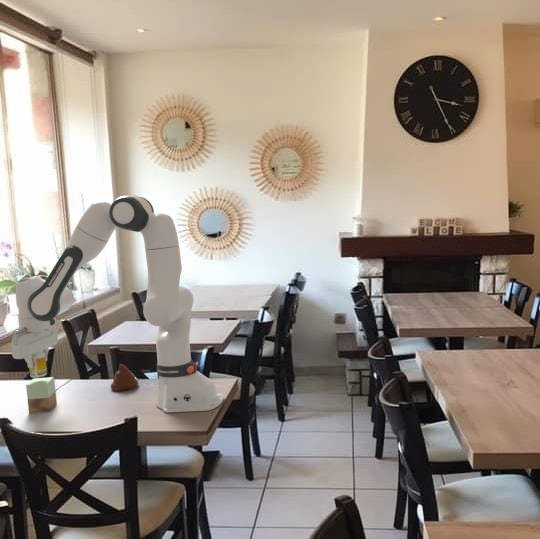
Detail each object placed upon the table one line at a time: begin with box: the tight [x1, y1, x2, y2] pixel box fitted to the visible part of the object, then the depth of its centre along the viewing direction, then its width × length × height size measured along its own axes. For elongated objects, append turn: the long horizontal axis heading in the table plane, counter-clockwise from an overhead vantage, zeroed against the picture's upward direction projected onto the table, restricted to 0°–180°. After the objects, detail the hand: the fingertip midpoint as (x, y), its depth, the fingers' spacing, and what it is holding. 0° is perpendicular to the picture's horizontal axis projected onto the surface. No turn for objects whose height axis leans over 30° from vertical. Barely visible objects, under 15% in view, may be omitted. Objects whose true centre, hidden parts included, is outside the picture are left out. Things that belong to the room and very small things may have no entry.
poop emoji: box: [110, 363, 139, 392], centre depth 215 cm, size 10×8×9 cm
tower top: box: [25, 376, 56, 399], centre depth 197 cm, size 7×7×5 cm
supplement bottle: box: [28, 348, 48, 379], centre depth 196 cm, size 5×5×10 cm
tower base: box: [27, 390, 58, 414], centre depth 198 cm, size 7×7×5 cm
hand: (37, 364), depth 196 cm, fingers closed on supplement bottle, 5 cm apart
